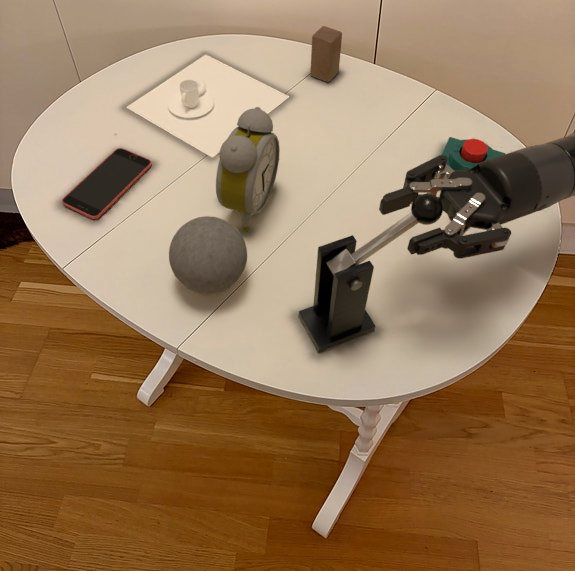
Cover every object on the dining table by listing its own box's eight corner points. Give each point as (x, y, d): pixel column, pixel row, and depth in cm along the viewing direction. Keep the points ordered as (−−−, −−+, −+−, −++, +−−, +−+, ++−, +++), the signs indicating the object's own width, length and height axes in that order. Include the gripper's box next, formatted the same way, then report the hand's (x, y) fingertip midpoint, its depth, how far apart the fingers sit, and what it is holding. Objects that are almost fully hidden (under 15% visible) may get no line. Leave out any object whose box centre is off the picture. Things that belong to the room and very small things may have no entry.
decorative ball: (163, 266, 82) (151, 216, 74) (229, 240, 85) (224, 190, 77) (192, 320, 77) (182, 273, 69) (261, 290, 80) (259, 242, 72)
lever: (435, 197, 67) (428, 182, 65) (451, 217, 66) (445, 203, 63) (332, 268, 70) (321, 256, 67) (346, 290, 68) (335, 279, 65)
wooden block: (328, 83, 106) (331, 42, 100) (309, 76, 108) (311, 35, 101) (339, 72, 108) (343, 31, 102) (320, 65, 110) (323, 24, 103)
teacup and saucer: (193, 82, 106) (190, 62, 103) (227, 100, 103) (225, 80, 100) (158, 107, 102) (154, 86, 99) (191, 126, 99) (188, 106, 96)
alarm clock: (252, 239, 85) (248, 160, 73) (209, 227, 86) (197, 147, 74) (280, 185, 92) (281, 103, 79) (239, 174, 93) (233, 92, 81)
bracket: (352, 295, 80) (364, 226, 68) (374, 330, 76) (390, 264, 65) (298, 316, 78) (301, 248, 66) (318, 353, 74) (325, 288, 63)
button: (487, 151, 91) (490, 142, 90) (481, 166, 89) (484, 157, 88) (464, 144, 92) (466, 135, 90) (457, 159, 90) (460, 150, 89)
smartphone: (154, 161, 93) (95, 218, 86) (154, 163, 94) (96, 221, 87) (118, 145, 95) (58, 201, 88) (119, 148, 96) (59, 204, 88)
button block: (501, 163, 95) (509, 144, 92) (487, 200, 90) (495, 181, 87) (446, 147, 97) (452, 127, 94) (430, 182, 92) (435, 163, 89)
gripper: (493, 120, 70) (367, 159, 66) (574, 201, 63) (438, 251, 59) (476, 167, 76) (360, 206, 72) (548, 247, 69) (423, 295, 65)
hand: (395, 226), depth 65 cm, fingers open, 5 cm apart
